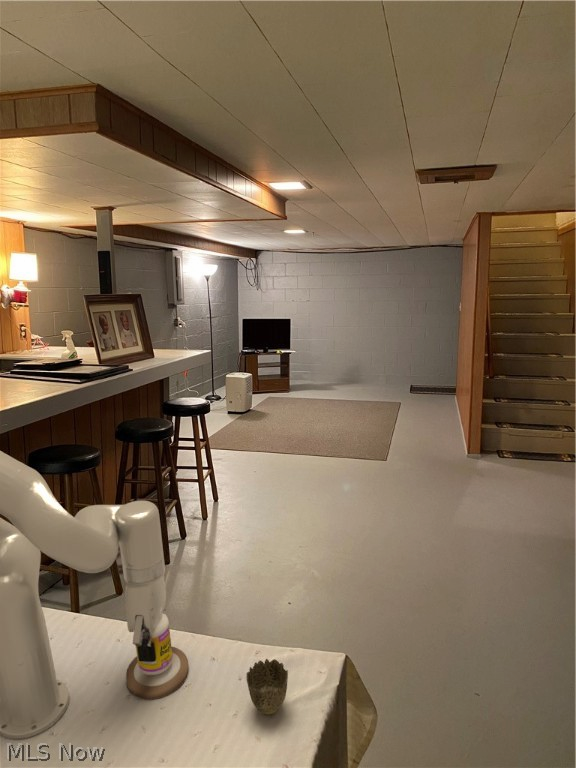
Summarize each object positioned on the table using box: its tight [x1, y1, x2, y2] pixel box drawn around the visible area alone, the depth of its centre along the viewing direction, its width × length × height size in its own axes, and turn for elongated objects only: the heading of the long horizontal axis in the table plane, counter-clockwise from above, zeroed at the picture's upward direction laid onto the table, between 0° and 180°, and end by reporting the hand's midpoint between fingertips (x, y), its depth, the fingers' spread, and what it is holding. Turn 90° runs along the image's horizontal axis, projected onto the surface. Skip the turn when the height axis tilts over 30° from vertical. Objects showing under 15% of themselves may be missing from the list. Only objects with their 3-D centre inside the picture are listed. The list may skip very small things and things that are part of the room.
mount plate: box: [125, 646, 190, 700], centre depth 111 cm, size 12×12×2 cm
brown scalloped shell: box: [245, 658, 289, 717], centre depth 101 cm, size 8×7×8 cm
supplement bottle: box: [134, 607, 173, 675], centre depth 108 cm, size 7×7×13 cm
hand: (153, 645), depth 109 cm, fingers open, 6 cm apart
